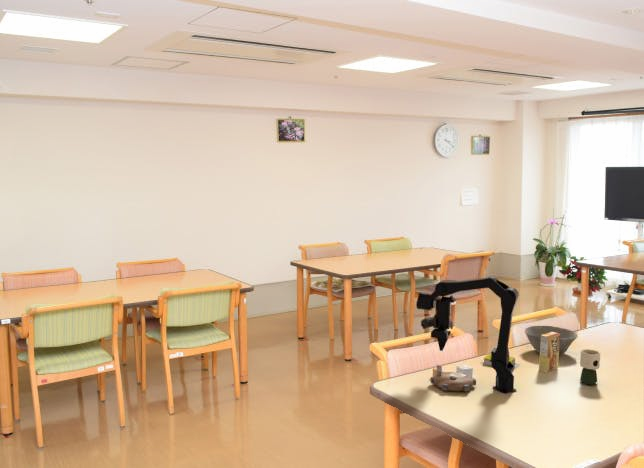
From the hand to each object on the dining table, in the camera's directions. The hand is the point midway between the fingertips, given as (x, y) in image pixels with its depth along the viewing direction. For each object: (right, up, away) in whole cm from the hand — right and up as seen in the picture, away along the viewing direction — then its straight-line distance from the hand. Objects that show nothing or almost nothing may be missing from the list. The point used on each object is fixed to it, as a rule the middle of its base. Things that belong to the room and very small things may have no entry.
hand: (441, 350), depth 243 cm
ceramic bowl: (+57, -9, +38) cm, 69 cm away
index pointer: (-1, -12, +3) cm, 12 cm away
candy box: (+48, -11, +15) cm, 52 cm away
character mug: (+58, -13, -1) cm, 60 cm away
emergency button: (+30, -11, +21) cm, 38 cm away
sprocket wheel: (+3, -13, -6) cm, 15 cm away
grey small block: (+10, -12, +5) cm, 16 cm away
